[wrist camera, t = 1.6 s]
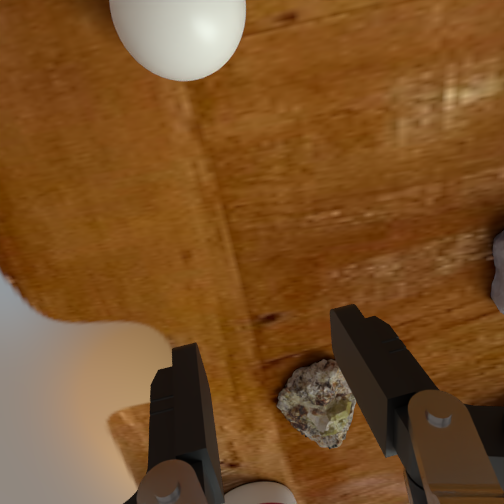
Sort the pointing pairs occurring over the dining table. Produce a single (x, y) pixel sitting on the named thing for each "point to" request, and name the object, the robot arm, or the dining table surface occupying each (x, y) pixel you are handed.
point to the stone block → (498, 272)
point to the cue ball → (180, 34)
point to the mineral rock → (318, 403)
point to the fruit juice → (260, 494)
